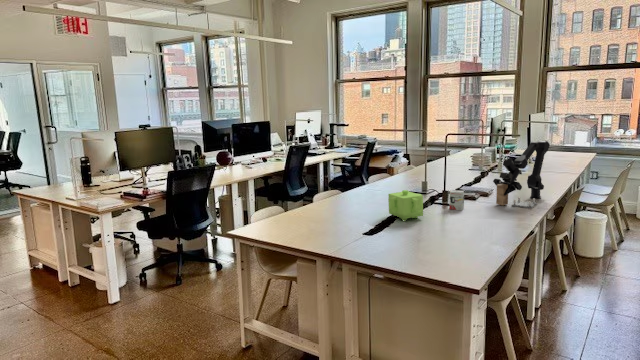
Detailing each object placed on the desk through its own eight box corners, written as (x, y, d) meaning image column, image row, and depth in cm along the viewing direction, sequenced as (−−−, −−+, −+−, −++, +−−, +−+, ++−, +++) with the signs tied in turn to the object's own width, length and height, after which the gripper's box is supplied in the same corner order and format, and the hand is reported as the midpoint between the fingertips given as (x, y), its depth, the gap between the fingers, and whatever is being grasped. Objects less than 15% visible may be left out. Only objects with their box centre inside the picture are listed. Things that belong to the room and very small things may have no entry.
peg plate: (517, 202, 295) (517, 196, 295) (536, 204, 288) (536, 198, 287) (511, 206, 286) (511, 200, 286) (531, 208, 279) (531, 202, 278)
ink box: (449, 209, 287) (448, 191, 285) (450, 207, 291) (450, 190, 289) (462, 210, 283) (462, 192, 281) (464, 208, 287) (464, 190, 285)
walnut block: (501, 202, 294) (502, 183, 291) (507, 204, 289) (508, 184, 287) (496, 203, 291) (496, 184, 289) (502, 205, 287) (503, 185, 284)
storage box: (379, 216, 279) (378, 189, 276) (409, 211, 288) (409, 185, 285) (401, 225, 257) (401, 196, 254) (433, 219, 265) (433, 191, 262)
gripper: (495, 166, 296) (483, 185, 293) (519, 169, 280) (507, 189, 276) (502, 176, 301) (491, 195, 298) (527, 180, 285) (515, 199, 282)
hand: (500, 194), depth 288 cm, fingers closed on walnut block, 5 cm apart
